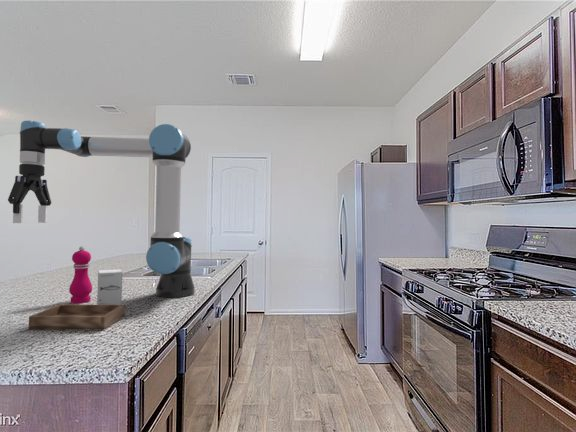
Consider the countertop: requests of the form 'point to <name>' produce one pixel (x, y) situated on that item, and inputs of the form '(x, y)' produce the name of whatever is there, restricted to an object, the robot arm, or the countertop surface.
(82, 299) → the pepper mill
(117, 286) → the supplement box
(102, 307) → the walnut caddy
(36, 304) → the countertop surface
